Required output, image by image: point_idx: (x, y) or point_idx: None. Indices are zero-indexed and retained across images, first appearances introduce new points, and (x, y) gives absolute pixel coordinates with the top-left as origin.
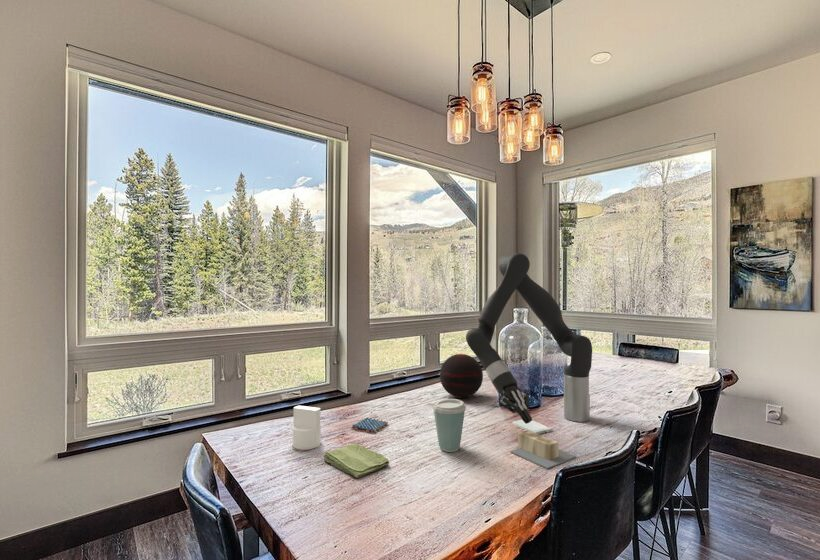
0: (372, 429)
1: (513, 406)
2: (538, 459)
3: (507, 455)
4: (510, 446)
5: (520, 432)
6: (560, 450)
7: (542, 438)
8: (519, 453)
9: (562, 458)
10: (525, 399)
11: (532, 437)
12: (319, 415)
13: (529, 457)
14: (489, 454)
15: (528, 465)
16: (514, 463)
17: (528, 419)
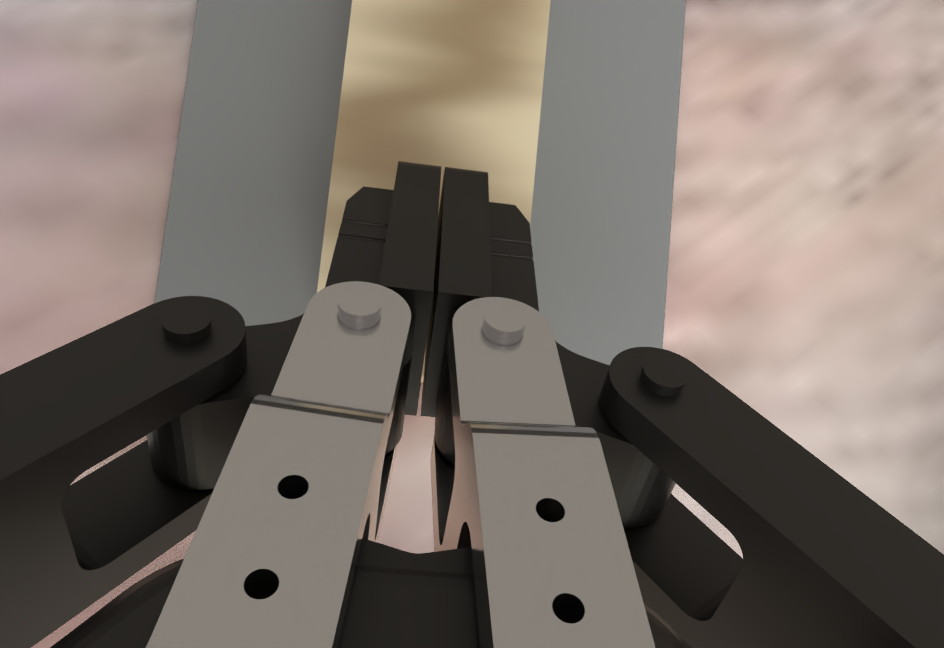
0: None
1: (784, 439)
2: (600, 61)
3: (736, 350)
4: None
5: None
6: (201, 19)
7: (421, 50)
8: (630, 274)
9: None
10: (8, 510)
11: (500, 157)
12: None
13: (631, 148)
14: (865, 491)
15: (757, 81)
16: (827, 193)
17: (485, 185)
